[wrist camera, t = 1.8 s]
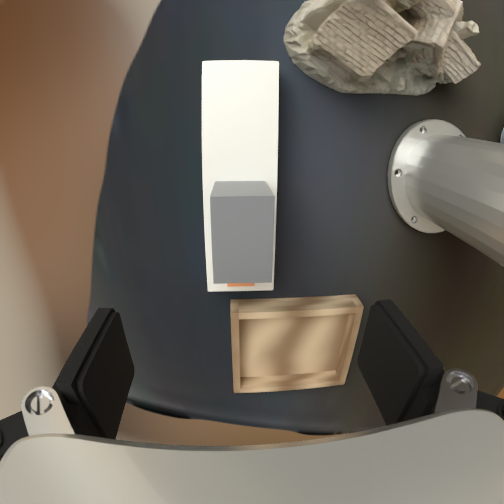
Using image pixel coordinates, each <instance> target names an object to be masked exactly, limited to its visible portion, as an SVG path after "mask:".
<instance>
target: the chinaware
mask: <svg viewBox="0 0 504 504" xmlns="http://www.w3.org/2000/svg"><path fill="white" fill-rule="evenodd" d="M500 143H501V144H504V128H503V130H502V134H501V140H500Z"/></svg>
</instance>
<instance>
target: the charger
mask: <svg viewBox="0 0 504 504" xmlns="http://www.w3.org/2000/svg"><path fill="white" fill-rule="evenodd" d="M274 210H275V196H274V194H273V192H272V191H271V189H270V188H269V186H268V185H267V183H266V182H265V181H215V183H214V186H213V189H212V192H211V195H210V213H211V240H212V262H213V282H214V284H227V283H272V269H273V241H274Z"/></svg>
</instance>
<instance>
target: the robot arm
mask: <svg viewBox="0 0 504 504" xmlns="http://www.w3.org/2000/svg"><path fill="white" fill-rule="evenodd" d="M395 170H396V173H395ZM387 176H388V189H389V194H390V198H391V201H392V204H393V206H394V208H395V210H396V211H397V213H398V215H399V216H400V217H401V218H402V219H403V221H404V222H406V223H407V224H408V225H410V226H411V227H413V228H415V229H416V230H418V231H421V232H424V233H438V232H443V231H445V230H446V231H448V232H450V233H451V234H453V235H455V236H456V237H458V238H460V239H461V240H463V241H464V242H466V243H468V244H469V245H471V246H472V247H474V248H476V249H477V250H479V251H480V252H482V253H483V254H485V255H486V256H488V257H489V258H491V259H492V260H494V261H495V262H497V263H498V264H500V265H501V266H503V267H504V144H501V143H496V142H490V141H485V140H479V139H473V138H466V137H465V135H464V134H463V133H462V132H461V131H460V130H459V129H458V128H457V127H455V126H454V125H452V124H451V123H448V122H446V121H443V120H436V119H426V120H422V121H419V122H417V123H415V124H413V125H411V126H410V127H409V128H408V129H406V130H405V131H404V132H403V133H402V135H401V136H400V137H399V139H398V140H397V142H396V144H395V146H394V148H393V150H392V153H391V157H390V160H389V165H388V173H387ZM358 366H359V368H360V370H361V372H362V374H363V377H364V379H365V381H366V383H367V385H368V387H369V389H370V391H371V393H372V395H373V397H374V399H375V402H376V404H377V406H378V408H379V410H380V412H381V414H382V416H383V419H384V421H385V423H386V425H387V426H383V427H379V428H374V429H370V430H365V431H360V432H355V433H350V434H345V435H339V436H333V437H327V438H321V439H313V440H305V441H297V442H288V443H278V444H264V445H246V446H184V445H165V444H153V443H142V442H132V441H122V440H115V439H116V435H117V431H118V427H119V424H120V420H121V417H122V413H123V410H124V406H125V403H126V400H127V396H128V393H129V390H130V386H131V383H132V380H133V377H134V365H133V362H132V358H131V355H130V351H129V348H128V344H127V341H126V337H125V333H124V329H123V326H122V322H121V318H120V314H119V313H118V312H115V310H114V309H113V308H98V310H97V311H96V313H95V314H94V316H93V318H92V319H91V321H90V322H89V324H88V326H87V327H86V329H85V331H84V332H83V334H82V336H81V337H80V339H79V341H78V342H77V344H76V346H75V347H74V349H73V351H72V353H71V354H70V356H69V358H68V360H67V361H66V363H65V365H64V367H63V369H62V370H61V372H60V374H59V376H58V378H57V380H56V382H55V383H54V385H53V387H52V388H50V387H47V386H41V387H36V388H34V389H32V390H30V391H29V392H27V393H26V394H25V396H24V397H23V399H22V402H21V409H22V411H20V412H18V413H16V414H14V415H11V416H9V417H7V418H5V419H2V420H0V504H504V399H502V398H499V397H496V396H493V395H490V394H487V393H484V392H481V391H478V390H477V389H478V386H477V382H476V380H475V378H474V377H473V376H472V375H471V374H470V373H468V372H467V371H465V370H462V369H450V370H448V371H446V372H444V370H443V369H442V368H443V366H444V365H443V364H442V363H441V361H440V360H439V359H438V358H437V356H436V355H435V354H434V352H433V351H432V350H431V348H430V347H429V346H428V345H427V343H426V342H425V341H424V339H423V338H422V337H421V336H420V334H419V333H418V332H417V331H416V329H415V328H414V327H413V326H412V324H411V323H410V322H409V321H408V320H407V318H406V317H405V316H404V315H403V313H402V312H401V311H400V310H399V309H398V307H397V306H396V305H395V304H394V303H393V301H391V300H381V301H376V302H375V304H374V305H372V306H371V308H370V313H369V317H368V321H367V325H366V330H365V334H364V338H363V341H362V345H361V349H360V353H359V356H358Z"/></svg>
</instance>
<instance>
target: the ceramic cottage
mask: <svg viewBox="0 0 504 504" xmlns="http://www.w3.org/2000/svg"><path fill="white" fill-rule="evenodd" d="M463 14H464V13H463V2H462V1H460V0H309V1H306V2H304V3H302V5H301V8H300V10H298V11H297V12H295V14H294V15H293V17H292V18H291V20H290V21H289V22H288V24H287V26H286V28H285V35H284V39H283V40H284V44H285V47H286V50H287V53H288V55H289V56H290V57H291V59H292V62H293V63H294V64H295V65H296V66H297V67H299V68H300V69H301V70H302V71H303V72H304V73H305V74H307V75H308V76H309V77H311V78H313V79H315V80H316V81H318V82H319V83H321V84H323V85H325V86H327V87H329V88H332V89H334V90H336V91H338V92H341V93H361V94H363V93H382V94H387V93H390V94H406V95H415V96H418V95H423V94H426V93H428V92H430V91H431V90H432V89H433V88H434V87H436V83H437V82H439V83H440V84H442V83H445V84H446V83H450V82H453V83H455V84H456V83H458V82H460V81H461V80H462V79H464V78H466V77H468V76H469V75H470V74H472V73H473V72H475V71H476V70H477V69H478V68H479V67H480V65H481V64H480V63H479V62H478V61H477V60H476V57H475V55H474V54H473V53H472V52H471V49H470V48H469V47H468V46H467V45H466V44H465V43H464V41H463V39H465V38H467V37H470V36H472V35H477V34H478V33H479V28H478V25H477V24H476V23H475V22H473V21H468V22H462V16H463Z"/></svg>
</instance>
